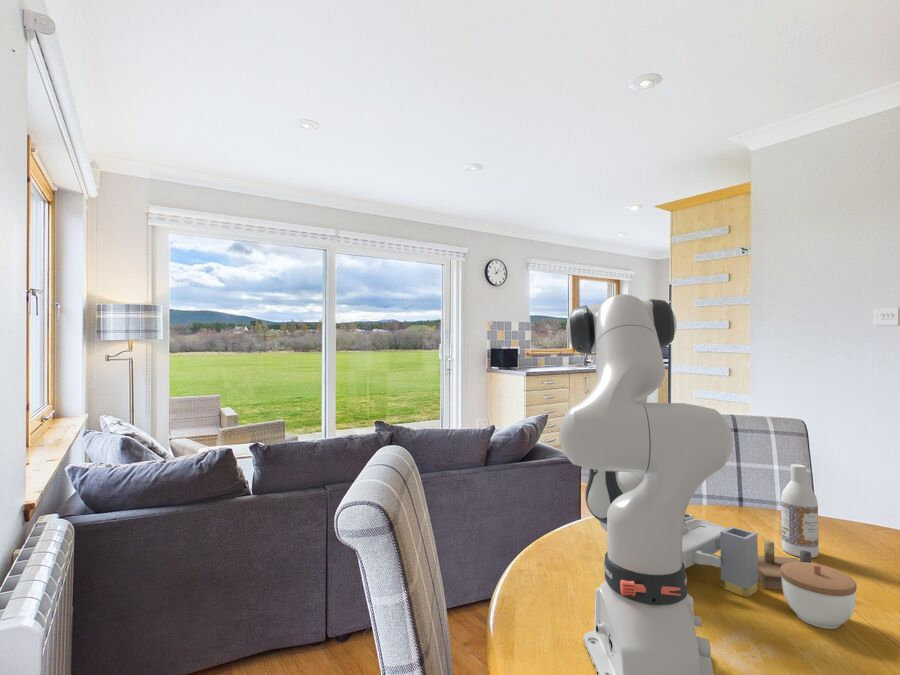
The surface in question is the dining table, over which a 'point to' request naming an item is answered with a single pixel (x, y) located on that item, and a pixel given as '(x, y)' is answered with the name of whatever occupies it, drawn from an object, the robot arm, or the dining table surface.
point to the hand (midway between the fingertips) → (733, 556)
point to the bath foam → (799, 515)
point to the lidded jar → (818, 593)
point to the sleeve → (739, 561)
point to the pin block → (775, 566)
